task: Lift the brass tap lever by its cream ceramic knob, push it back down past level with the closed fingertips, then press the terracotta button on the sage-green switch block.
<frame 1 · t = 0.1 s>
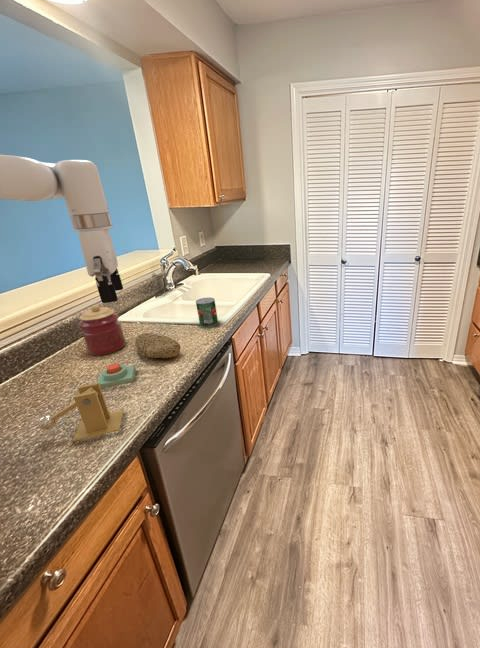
hand: (113, 295, 78), 32 cm above the countertop, tool pointing down, fingers open, 9 cm apart
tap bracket: (100, 428, 82), on the countertop
tap lever: (67, 409, 78), point 8 cm above the countertop, hinge at -25.0°
switch block: (117, 380, 103), on the countertop
canned tomato: (209, 324, 142), on the countertop
kitchen canister: (108, 348, 125), on the countertop
speckled river stone: (159, 354, 119), on the countertop
button: (113, 368, 101), point 4 cm above the countertop, slide at 0.1 cm
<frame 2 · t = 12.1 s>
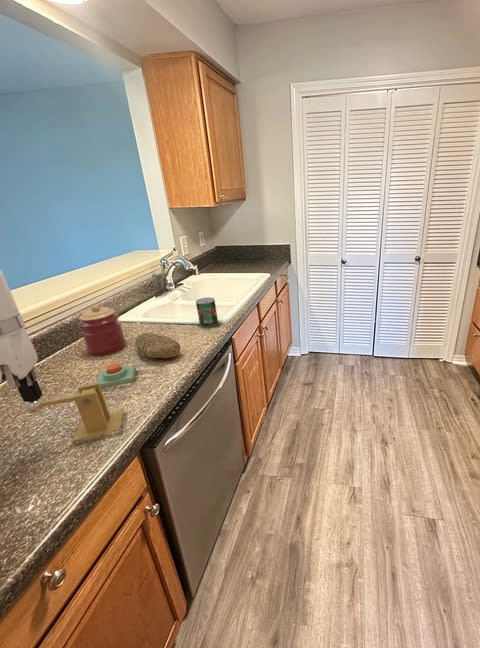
hand: (33, 398, 74), 12 cm above the countertop, tool pointing down, fingers closed
tap lever: (61, 400, 77), point 10 cm above the countertop, hinge at 3.1°, touching gripper
everything else where it was.
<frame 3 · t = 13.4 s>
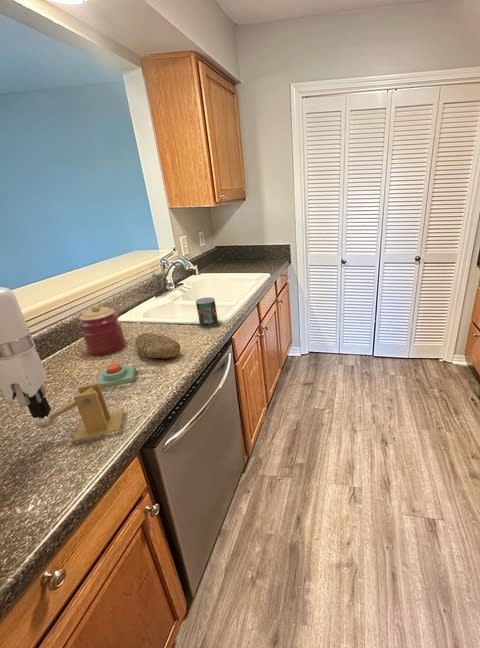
hand: (42, 414, 76), 8 cm above the countertop, tool pointing down, fingers closed
tap lever: (66, 408, 78), point 8 cm above the countertop, hinge at -21.6°, touching gripper
everything else where it was.
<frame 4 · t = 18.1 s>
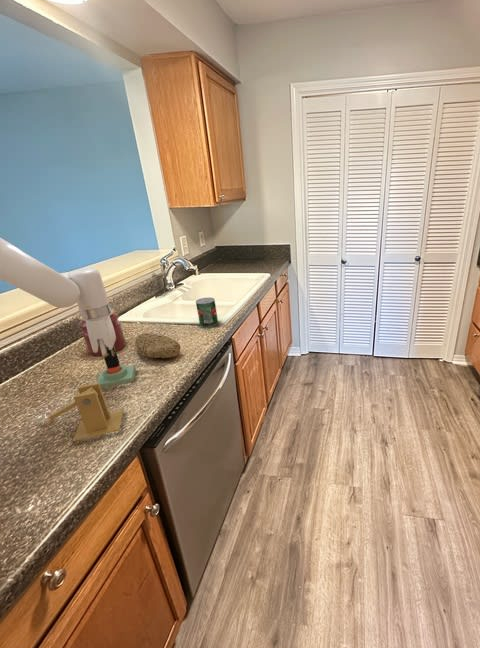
hand: (113, 365, 101), 5 cm above the countertop, tool pointing down, fingers closed
tap lever: (66, 408, 78), point 8 cm above the countertop, hinge at -21.7°
button: (113, 368, 101), point 4 cm above the countertop, slide at 0.1 cm, touching gripper
everything else where it was.
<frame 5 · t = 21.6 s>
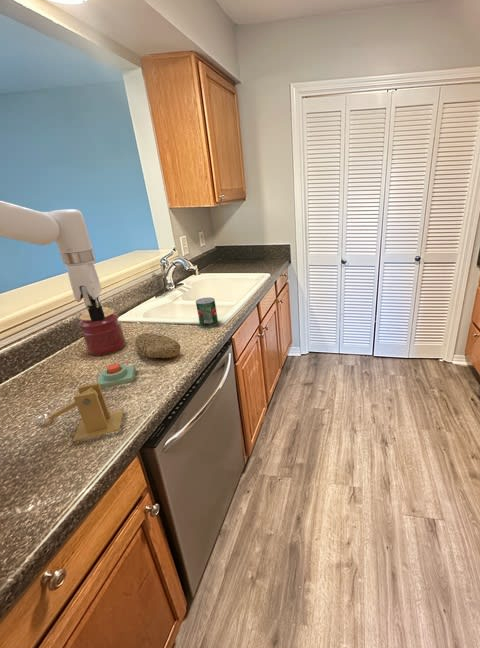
hand: (98, 319, 94), 21 cm above the countertop, tool pointing down, fingers closed
button: (113, 368, 101), point 4 cm above the countertop, slide at 0.1 cm
everything else where it was.
at the end: tap lever reached +22° during the clip, -22° at the end; tap lever at -22° (first picture: -25°); button pushed in 1.1 cm at the most during the clip, back to where it started at the end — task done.
